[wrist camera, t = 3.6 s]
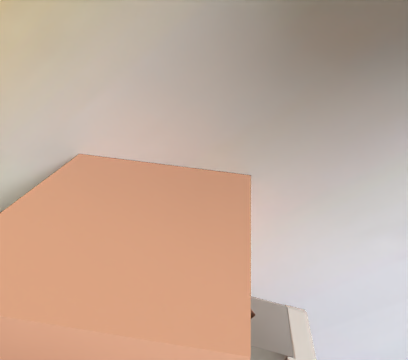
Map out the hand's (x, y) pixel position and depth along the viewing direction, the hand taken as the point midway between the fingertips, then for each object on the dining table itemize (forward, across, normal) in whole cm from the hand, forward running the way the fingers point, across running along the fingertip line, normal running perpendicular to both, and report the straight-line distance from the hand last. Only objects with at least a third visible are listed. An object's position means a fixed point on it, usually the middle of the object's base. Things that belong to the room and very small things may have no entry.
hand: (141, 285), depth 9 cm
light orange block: (+2, 0, 0) cm, 2 cm away
